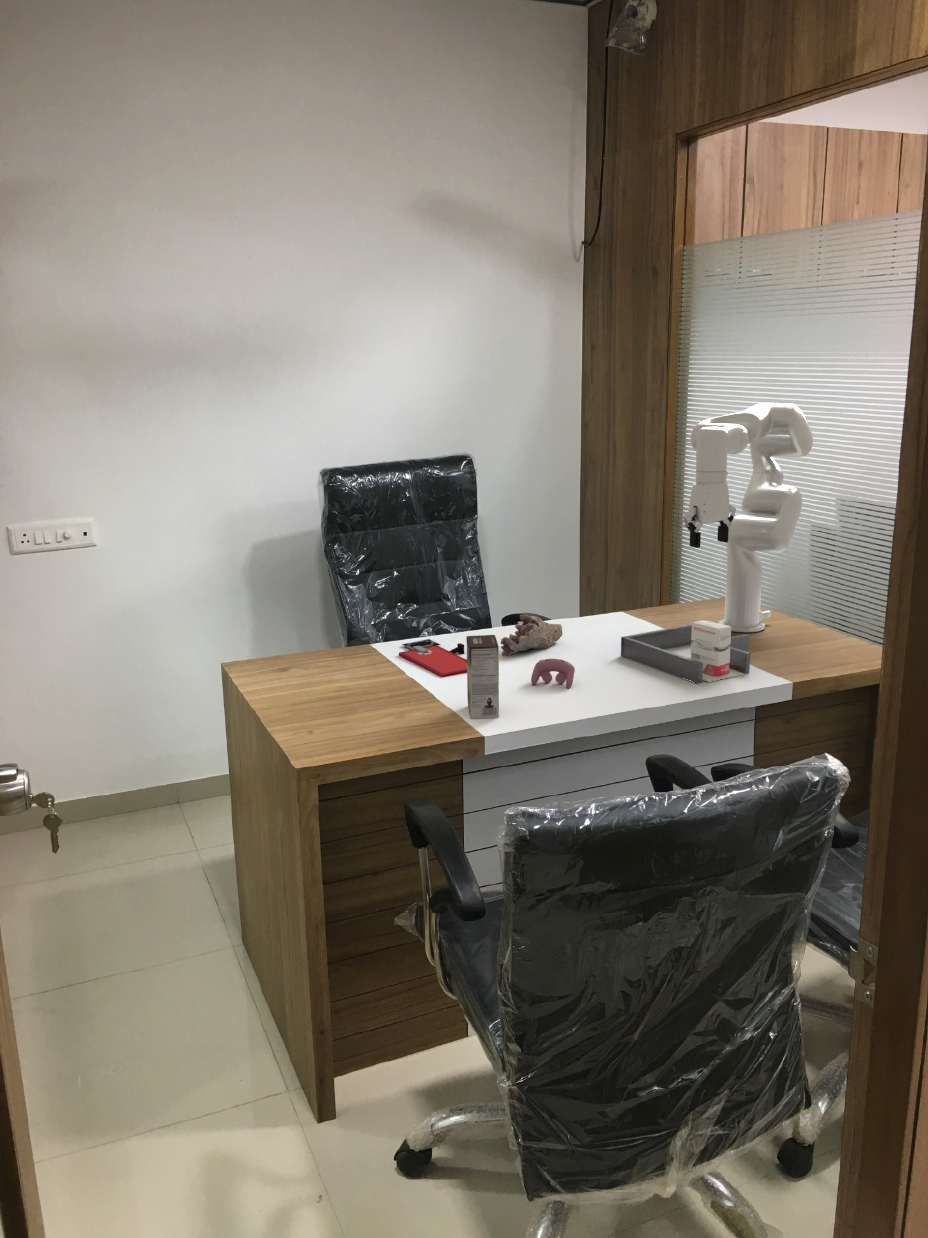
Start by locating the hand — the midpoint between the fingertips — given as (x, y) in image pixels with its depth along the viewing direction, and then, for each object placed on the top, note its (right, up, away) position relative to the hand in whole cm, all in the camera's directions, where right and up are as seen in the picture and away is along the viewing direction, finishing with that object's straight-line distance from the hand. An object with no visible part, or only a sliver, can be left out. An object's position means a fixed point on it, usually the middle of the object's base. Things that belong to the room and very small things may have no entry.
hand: (708, 544), depth 257 cm
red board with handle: (-69, -30, +2) cm, 75 cm away
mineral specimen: (-45, -27, +9) cm, 53 cm away
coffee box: (-58, -39, -39) cm, 81 cm away
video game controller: (-42, -34, -21) cm, 58 cm away
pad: (-4, -32, -15) cm, 36 cm away
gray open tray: (-3, -29, -5) cm, 30 cm away
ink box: (-3, -32, -15) cm, 35 cm away
